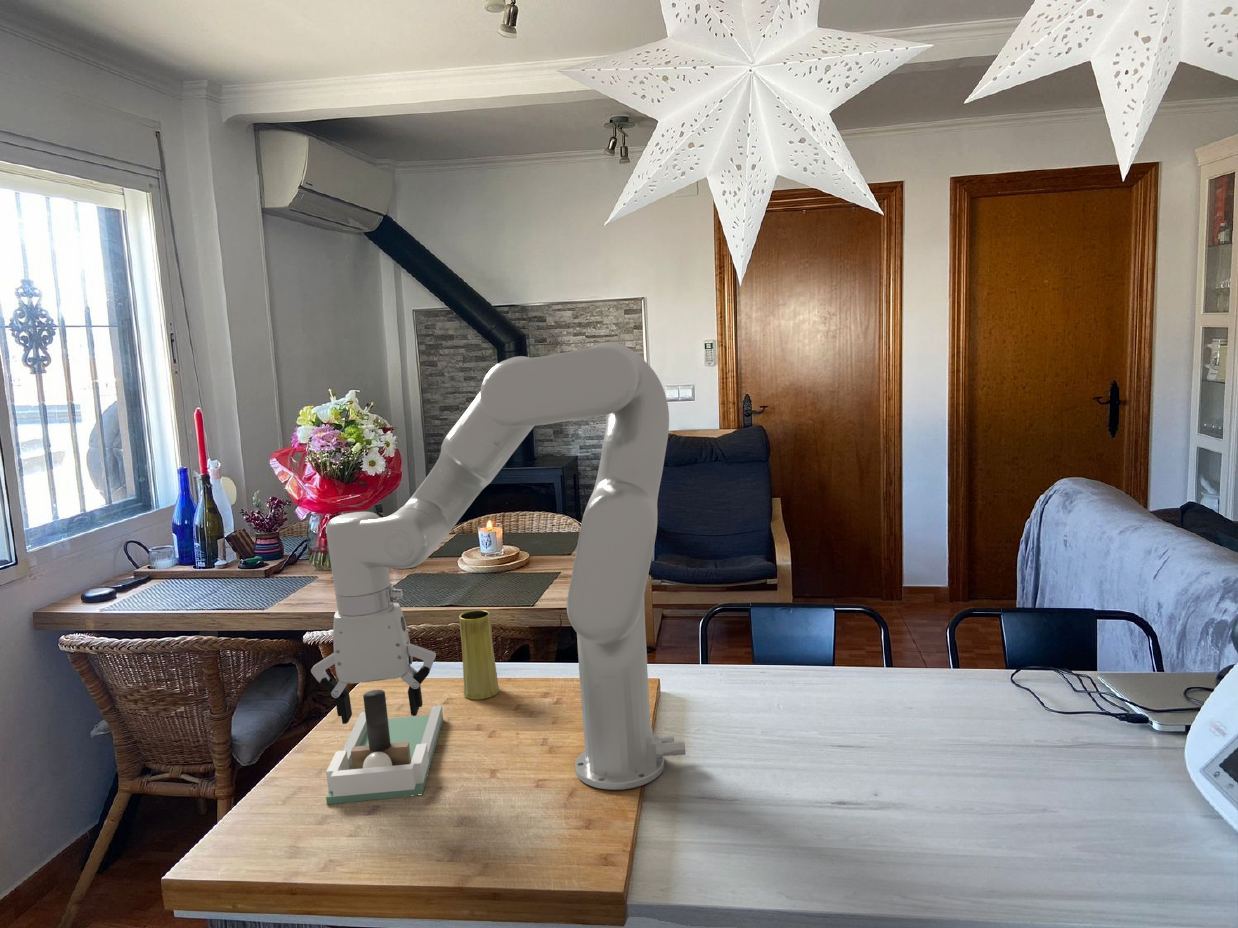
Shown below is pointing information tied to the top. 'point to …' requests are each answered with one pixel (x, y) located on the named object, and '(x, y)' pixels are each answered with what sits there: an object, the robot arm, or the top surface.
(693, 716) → the top surface
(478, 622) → the vase
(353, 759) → the striker
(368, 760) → the ball
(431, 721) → the pitch
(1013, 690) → the top surface
